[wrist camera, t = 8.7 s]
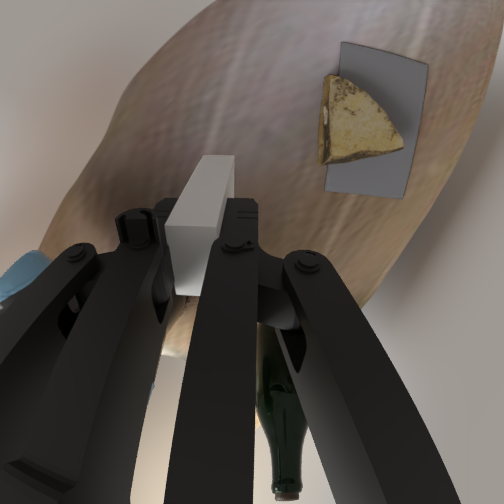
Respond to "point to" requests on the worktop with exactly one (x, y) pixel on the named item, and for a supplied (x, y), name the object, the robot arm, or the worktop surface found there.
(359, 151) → the yellow wedge
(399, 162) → the mat
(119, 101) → the worktop surface
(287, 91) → the worktop surface
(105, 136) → the worktop surface
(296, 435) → the dark green wine bottle
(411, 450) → the robot arm
